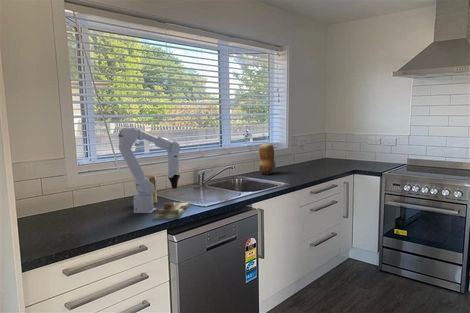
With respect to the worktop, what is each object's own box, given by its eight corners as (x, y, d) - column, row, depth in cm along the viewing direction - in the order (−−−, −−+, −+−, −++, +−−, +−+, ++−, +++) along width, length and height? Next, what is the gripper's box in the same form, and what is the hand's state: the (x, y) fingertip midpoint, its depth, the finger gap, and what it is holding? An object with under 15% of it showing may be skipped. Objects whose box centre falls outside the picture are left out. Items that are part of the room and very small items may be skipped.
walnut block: (163, 212, 170) (163, 204, 170) (166, 209, 174) (165, 202, 174) (171, 212, 170) (171, 204, 169) (174, 210, 174) (173, 202, 173)
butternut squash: (257, 173, 288) (257, 142, 285) (273, 172, 289) (273, 142, 286) (260, 175, 274) (260, 144, 271) (277, 175, 275) (277, 143, 272)
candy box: (157, 201, 201) (156, 175, 199) (156, 203, 196) (155, 176, 195) (141, 201, 200) (140, 175, 198) (140, 203, 196) (138, 177, 194)
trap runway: (153, 218, 167) (153, 210, 167) (167, 206, 189) (166, 199, 188) (178, 218, 166) (178, 210, 166) (188, 206, 188) (188, 199, 187)
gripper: (177, 165, 180) (178, 191, 182) (183, 161, 195) (184, 185, 196) (163, 165, 181) (165, 191, 183) (171, 161, 195) (172, 185, 197)
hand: (174, 188), depth 189 cm, fingers closed
